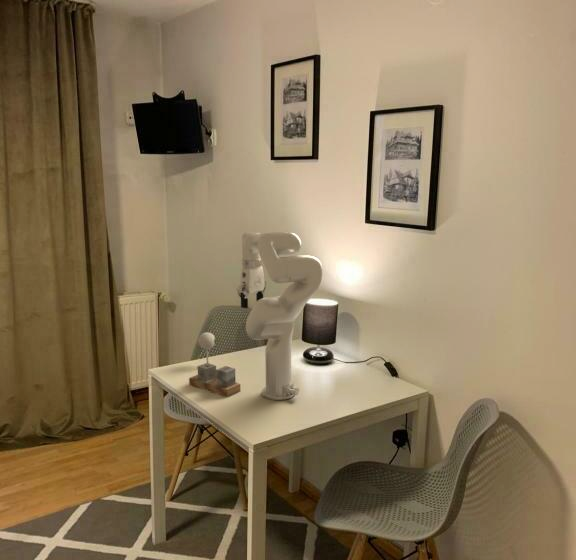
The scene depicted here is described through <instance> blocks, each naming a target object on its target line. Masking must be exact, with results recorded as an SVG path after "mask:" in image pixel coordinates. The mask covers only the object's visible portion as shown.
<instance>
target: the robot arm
mask: <svg viewBox="0 0 576 560" xmlns="http://www.w3.org/2000/svg"><path fill="white" fill-rule="evenodd" d="M301 248H302V241H301V239H300V237H299V235H297V234H296V233H294V232H289V231H272V232H267V233H266V232H264V233H263V232H262V233H260V232H258V231H257V232H256V231H246V232H244V233H242V235H241V252H242V254H241V255H242V257H241V259H242V260H241V265H242V267H241V270H240V271H241V272H240V285H239V286H238V287H237V288H236V292H237V295H238V297H239V298H240V307H241V308H243V309H248V308H249V298H248V296H249V294H254V293H255V294H256V300H255V301H256V302H255V304H254V305H253V307H252V308H251V311H250V312H249V314H248V316H247V319H246V322H245V332H246V334H247V336H248V337H249V338H250V339H251V340H254V341H259V340H268V341H267V342H266V343H267V344H266V346H265V357H264V358H265V387H263V388H262V390H261V395H262V396H263V398H266V399H269V400H273V401H275V400H276V401H283V400H289V399H292V398H294V396H298V395H299V392H300V388H298V387H296V386H295V385H294V384H295V383H294V382H292V345H293V344H292V340H293V334H294V329H295V328H294V327H295V320H296V319H297V318H298V316H299V315H300V313H301V312H302V311H303V309H304V308H305V306H306V304H307V303H308V301H309V302H310V300H311V299H312V298H313V296H314V295H315V294H316V293H317V291H318V289H319V287H320V286H321V282H322V280H323V279H322V278H323V265H322V263H321V261H320V260H319V259H318V258H317V257H315V256H311V255H296V254H297V253H299V252H300V250H301ZM262 263H263V266H264V268H265V270H266V272H267V275H268V277H269V279H270V280H271V282H273V283H275V284H287V283H291V284H289V285H288V286H287V287H286V288H285V289H284V291H283V292H282V294H281V295H278V296H270V297H264V294H265V290H266V286H267V284H268V283H267V281H266V280H265V274H264V272H265V271H264V268H263V266H262Z"/></svg>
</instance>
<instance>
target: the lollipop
mask: <svg viewBox="0 0 576 560" xmlns="http://www.w3.org/2000/svg"><path fill="white" fill-rule="evenodd" d="M197 342H198V345H199V347H200V348H201V349H203V350H206V353H205V354H206V363H209V350H210V349H212V348H213V347H215V344H216V337H215V335H214V334H213V333H211V332H207V331H205V332H203V333H201V334H200V335H199V337H198V341H197Z"/></svg>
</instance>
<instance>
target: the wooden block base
mask: <svg viewBox="0 0 576 560" xmlns="http://www.w3.org/2000/svg"><path fill="white" fill-rule="evenodd" d="M188 385H189V387H193V388H196V389H198V390H199V389H200V390H203V391H206V392H209V393H213V394H216V395H219V396H223V397H226V398H230V397H231V396H234V395H236V394H238V393H240V392H241V383H238V382H236V368H235V367H230V366H227V365H224V366H221V367H219V368H216V378H215V379H213V380H210V381H207V382H206V381H203V380H201V379H198V374H196V375H193V376H190V377H189V378H188Z"/></svg>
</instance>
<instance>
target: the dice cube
mask: <svg viewBox="0 0 576 560" xmlns="http://www.w3.org/2000/svg"><path fill="white" fill-rule="evenodd" d="M196 367H197V375H198V379H201V380H203V381H206V382H207V381H210V380H213V379H215V378H216V370H217V365H215V364H212V363H209V362H208V363H207V362H206V363H203V364H199V365H197V366H196Z"/></svg>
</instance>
